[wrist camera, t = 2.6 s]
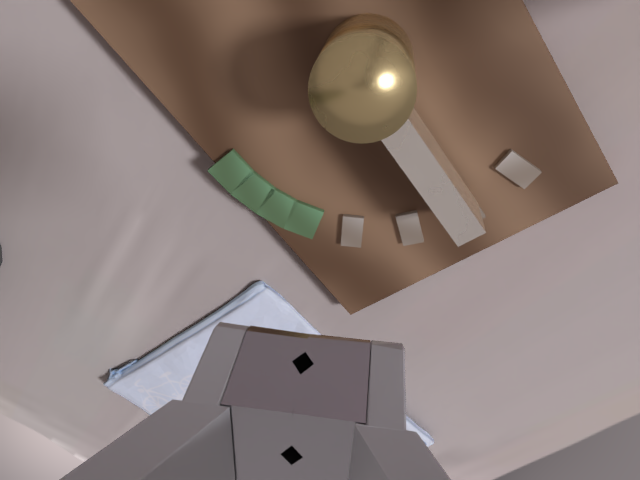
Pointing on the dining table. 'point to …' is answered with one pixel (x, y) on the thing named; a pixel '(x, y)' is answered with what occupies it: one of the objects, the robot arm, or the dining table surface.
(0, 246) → the thermos
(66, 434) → the dining table surface
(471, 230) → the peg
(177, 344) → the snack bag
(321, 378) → the robot arm
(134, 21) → the dial board
